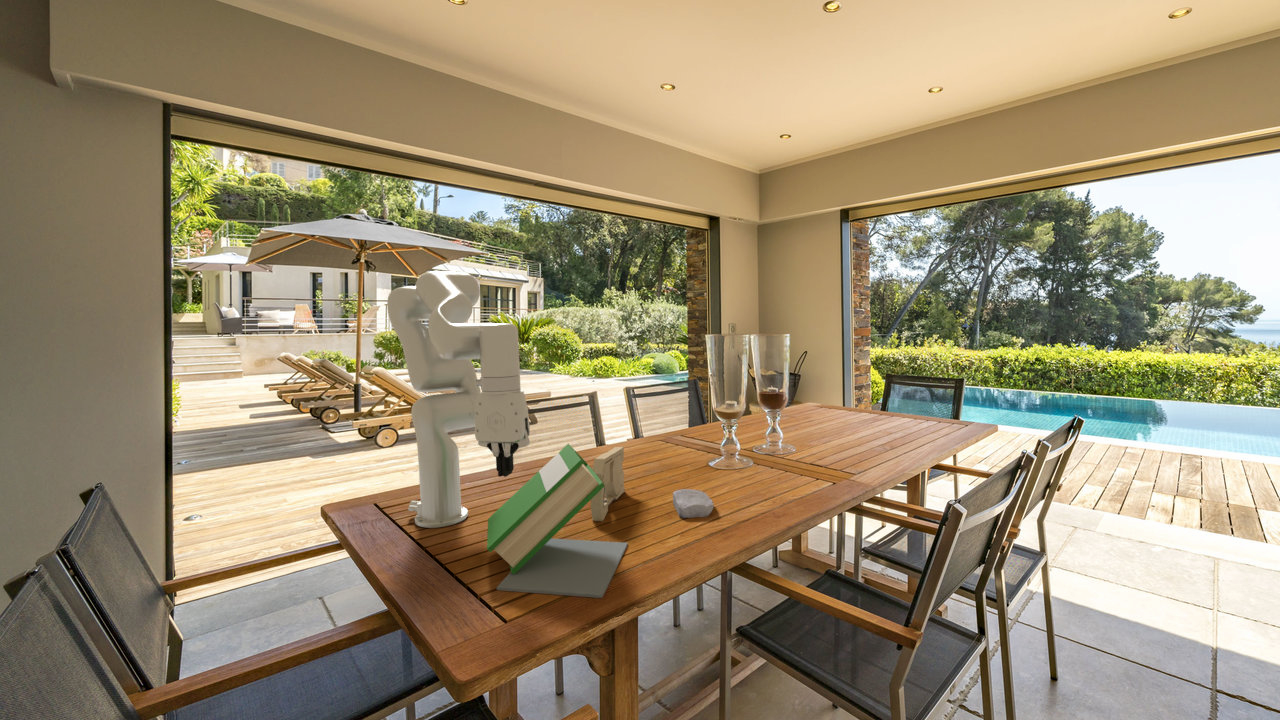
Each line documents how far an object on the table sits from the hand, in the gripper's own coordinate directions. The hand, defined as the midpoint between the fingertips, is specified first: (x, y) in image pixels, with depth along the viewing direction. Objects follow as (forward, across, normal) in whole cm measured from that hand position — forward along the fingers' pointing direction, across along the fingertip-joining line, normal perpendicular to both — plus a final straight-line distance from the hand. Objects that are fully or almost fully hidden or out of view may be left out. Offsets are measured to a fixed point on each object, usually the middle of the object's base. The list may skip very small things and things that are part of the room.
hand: (505, 474), depth 105 cm
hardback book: (+15, -2, +1) cm, 16 cm away
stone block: (+19, +35, +35) cm, 53 cm away
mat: (+18, +12, 0) cm, 22 cm away
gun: (+19, +12, +35) cm, 42 cm away
